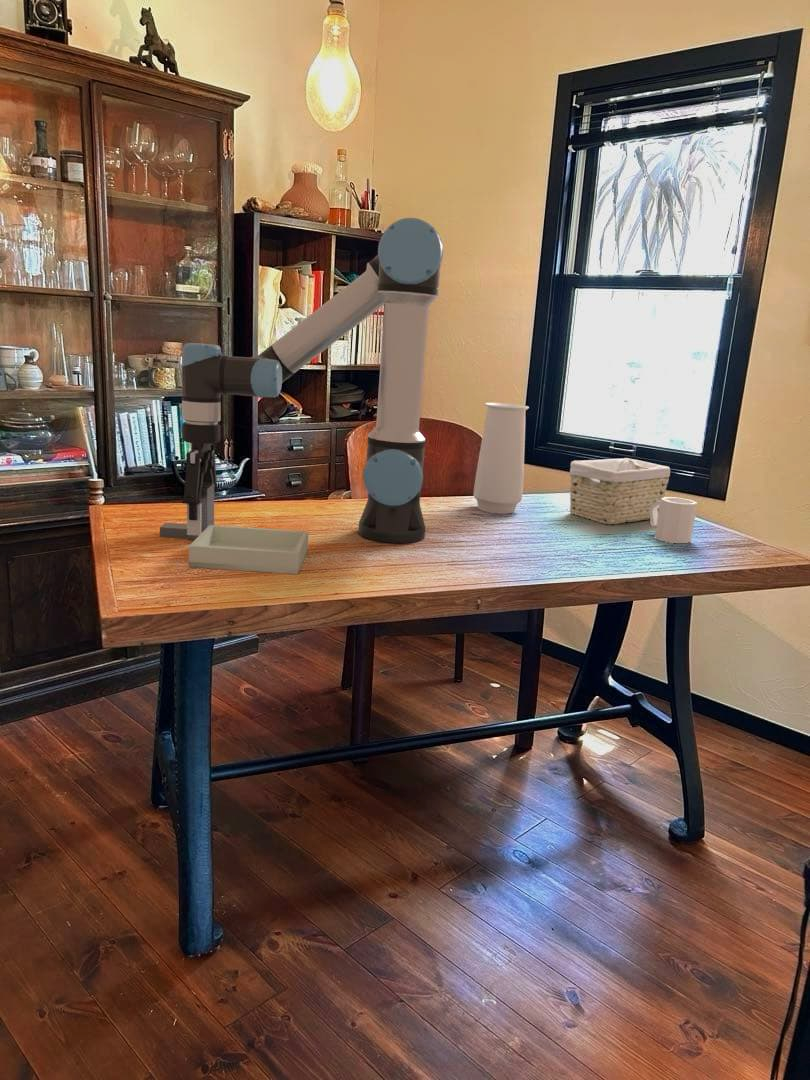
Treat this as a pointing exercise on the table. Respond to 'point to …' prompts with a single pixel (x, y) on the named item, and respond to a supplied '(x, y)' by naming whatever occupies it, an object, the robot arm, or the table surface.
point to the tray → (249, 549)
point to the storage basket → (616, 489)
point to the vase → (501, 459)
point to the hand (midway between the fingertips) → (201, 528)
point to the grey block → (206, 516)
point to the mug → (673, 519)
